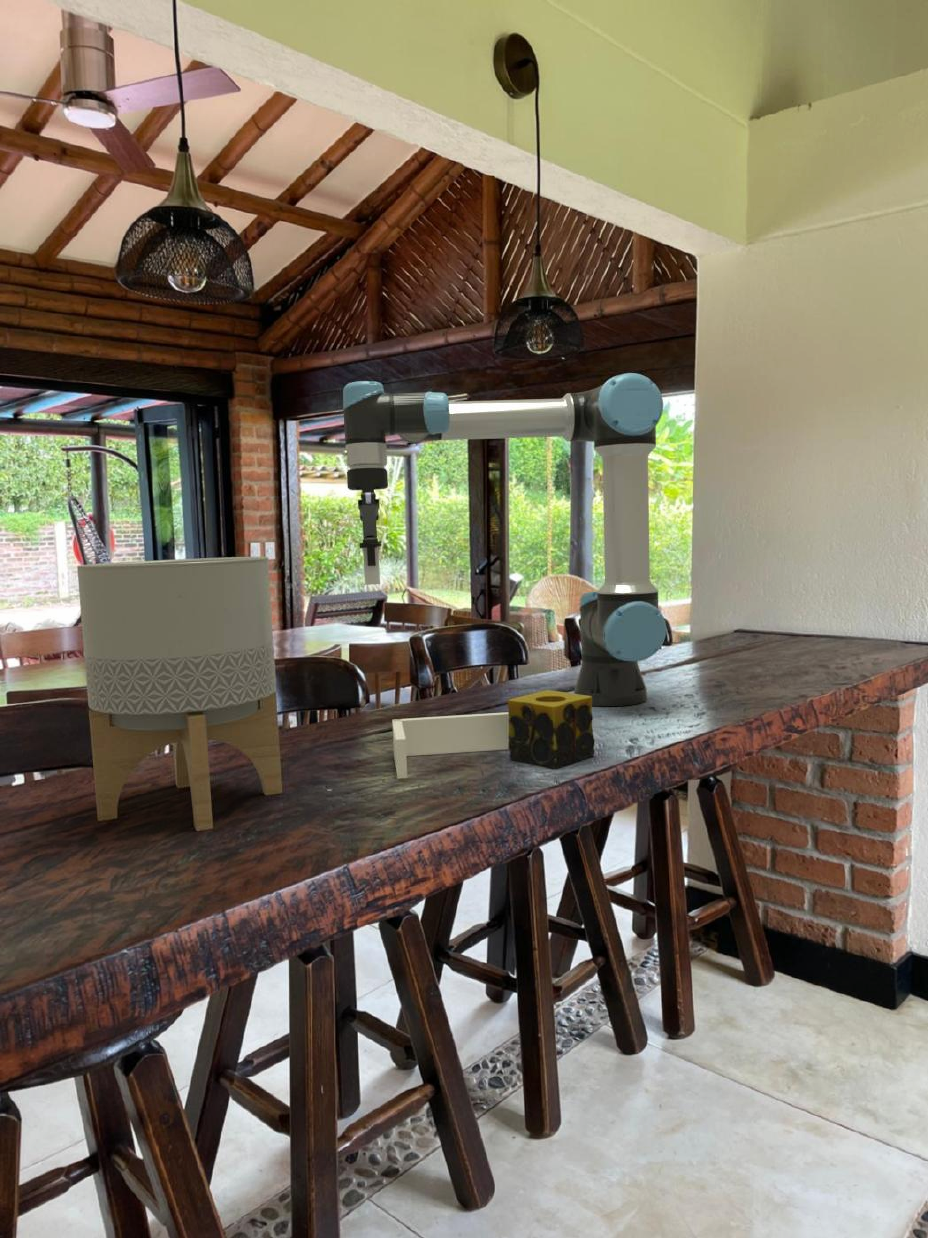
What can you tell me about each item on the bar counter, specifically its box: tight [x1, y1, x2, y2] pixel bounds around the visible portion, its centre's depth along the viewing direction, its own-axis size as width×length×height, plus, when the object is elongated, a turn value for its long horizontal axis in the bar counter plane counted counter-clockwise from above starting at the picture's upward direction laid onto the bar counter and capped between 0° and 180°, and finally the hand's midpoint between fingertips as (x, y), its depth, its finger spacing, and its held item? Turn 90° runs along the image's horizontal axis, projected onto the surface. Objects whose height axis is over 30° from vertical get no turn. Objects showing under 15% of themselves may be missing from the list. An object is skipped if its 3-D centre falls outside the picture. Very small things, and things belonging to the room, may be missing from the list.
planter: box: [76, 556, 283, 832], centre depth 125 cm, size 25×25×34 cm
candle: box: [507, 689, 595, 770], centre depth 144 cm, size 10×10×10 cm
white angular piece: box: [391, 711, 509, 780], centre depth 144 cm, size 20×15×6 cm
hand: (372, 582), depth 169 cm, fingers open, 13 cm apart
